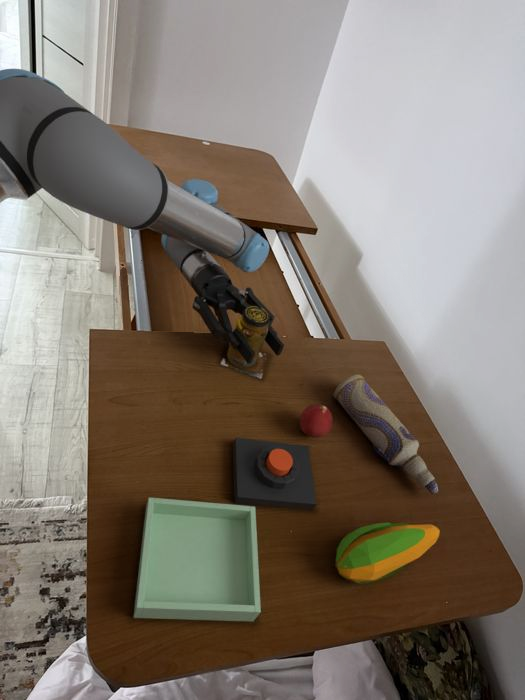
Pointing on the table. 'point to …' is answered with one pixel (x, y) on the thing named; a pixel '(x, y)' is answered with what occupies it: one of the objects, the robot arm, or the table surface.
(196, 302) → the robot arm
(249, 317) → the condiment
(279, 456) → the button
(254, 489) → the button base
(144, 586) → the mint green tray
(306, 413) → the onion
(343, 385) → the decorative bottle
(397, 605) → the table surface
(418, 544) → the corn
